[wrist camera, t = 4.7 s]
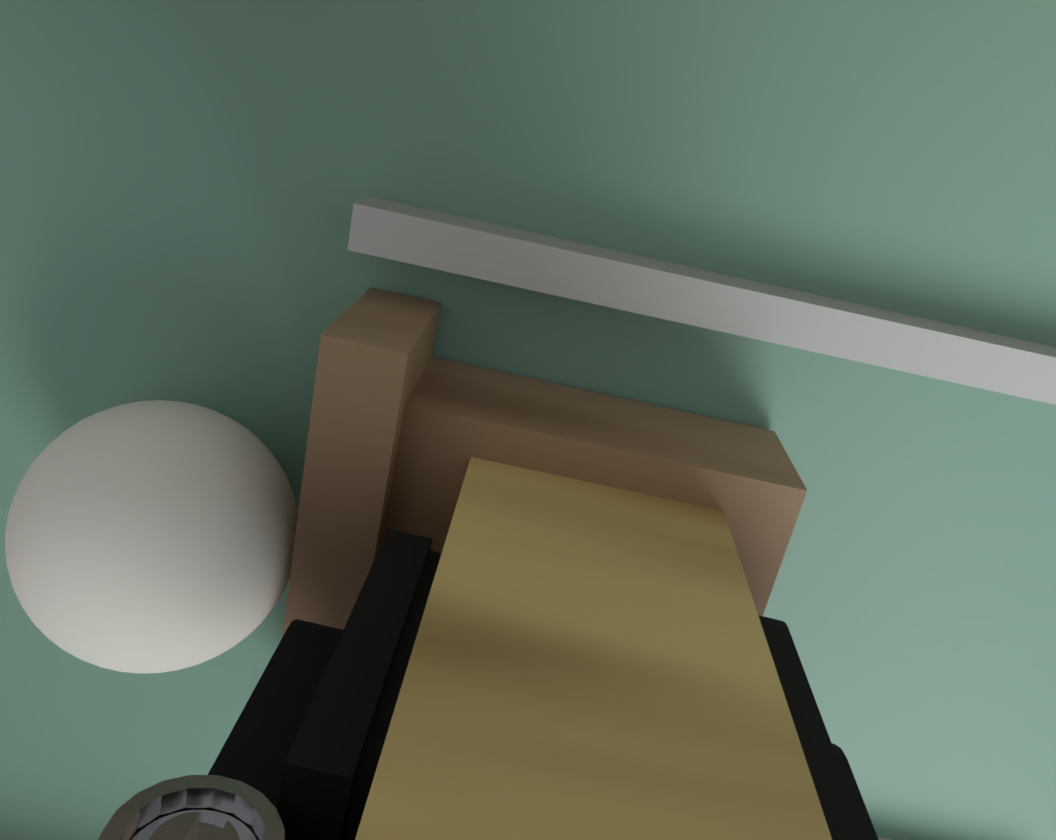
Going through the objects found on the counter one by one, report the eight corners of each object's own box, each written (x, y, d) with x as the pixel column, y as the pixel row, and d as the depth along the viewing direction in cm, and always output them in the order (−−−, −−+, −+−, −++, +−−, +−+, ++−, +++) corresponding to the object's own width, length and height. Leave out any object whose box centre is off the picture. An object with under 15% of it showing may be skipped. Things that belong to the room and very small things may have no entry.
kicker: (662, 766, 15) (765, 1645, 7) (311, 693, 15) (-46, 1489, 6) (791, 378, 12) (1224, 990, 4) (370, 287, 12) (-84, 721, 4)
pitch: (916, 1034, 19) (990, 1244, 15) (-422, 760, 18) (-651, 915, 15) (1473, -1, 12) (1840, -36, 8) (-705, -501, 11) (-1277, -760, 8)
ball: (278, 738, 11) (-37, 732, 11) (288, 581, 15) (48, 567, 14) (310, 490, 10) (-44, 458, 9) (315, 378, 13) (52, 347, 12)
